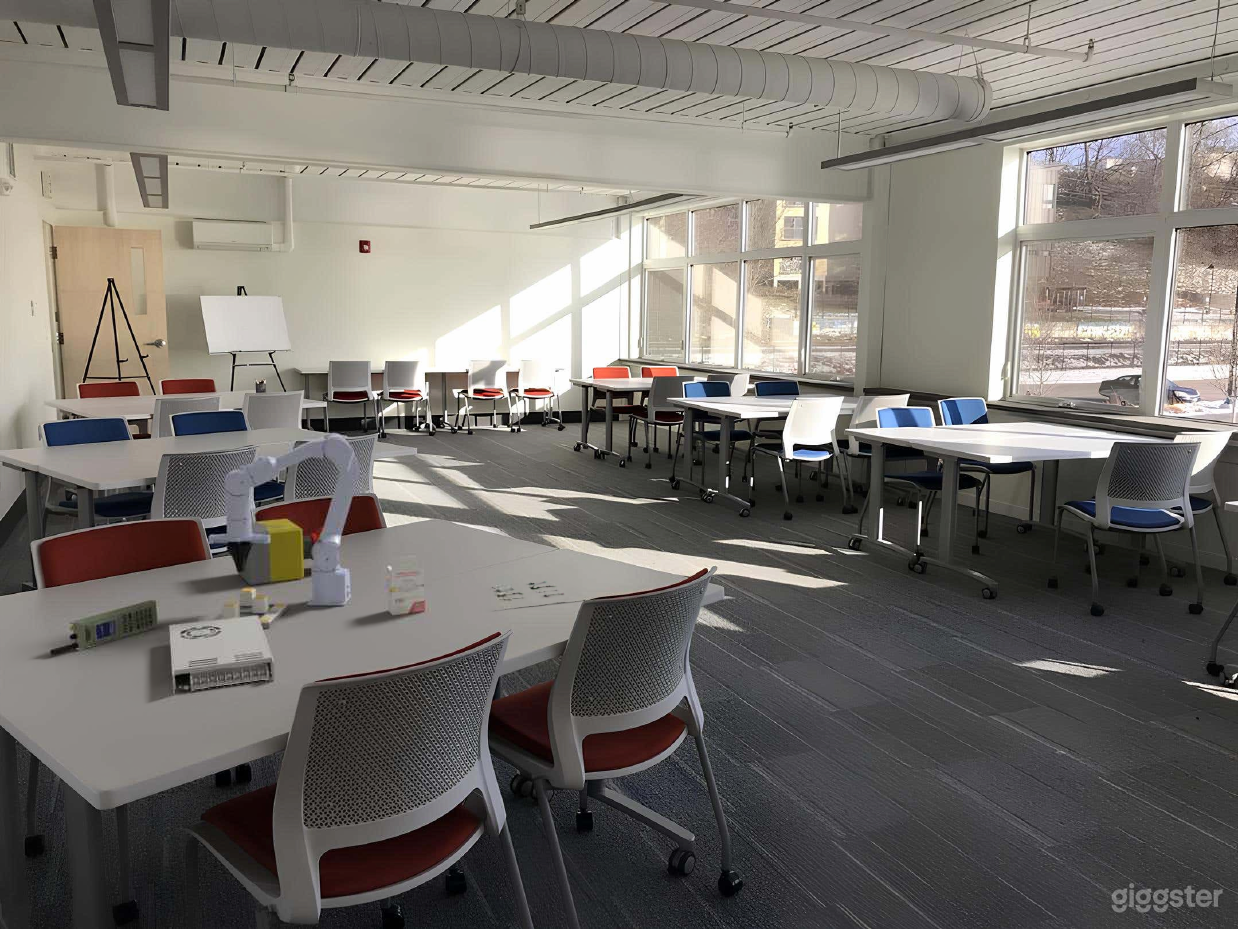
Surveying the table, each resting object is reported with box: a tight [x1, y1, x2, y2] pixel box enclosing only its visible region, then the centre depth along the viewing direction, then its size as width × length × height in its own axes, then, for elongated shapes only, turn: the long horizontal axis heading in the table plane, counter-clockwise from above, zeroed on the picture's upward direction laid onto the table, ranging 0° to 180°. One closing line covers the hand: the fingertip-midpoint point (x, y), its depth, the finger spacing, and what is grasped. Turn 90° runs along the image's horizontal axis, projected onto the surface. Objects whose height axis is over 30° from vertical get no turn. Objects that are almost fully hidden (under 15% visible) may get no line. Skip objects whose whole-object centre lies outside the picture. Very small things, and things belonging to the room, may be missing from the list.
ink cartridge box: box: [386, 555, 426, 616], centre depth 240 cm, size 9×5×15 cm, turn 116°
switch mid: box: [252, 594, 270, 613], centre depth 232 cm, size 3×3×4 cm
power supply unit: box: [169, 615, 276, 693], centre depth 203 cm, size 19×33×5 cm, turn 26°
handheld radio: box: [49, 599, 159, 656], centre depth 214 cm, size 7×3×25 cm
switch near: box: [221, 601, 240, 619], centre depth 226 cm, size 3×3×4 cm
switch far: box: [239, 587, 257, 606], centre depth 238 cm, size 3×3×4 cm
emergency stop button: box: [237, 518, 324, 586], centre depth 272 cm, size 15×24×15 cm, turn 124°
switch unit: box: [213, 602, 290, 629], centre depth 233 cm, size 14×16×2 cm
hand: (241, 571), depth 238 cm, fingers closed
